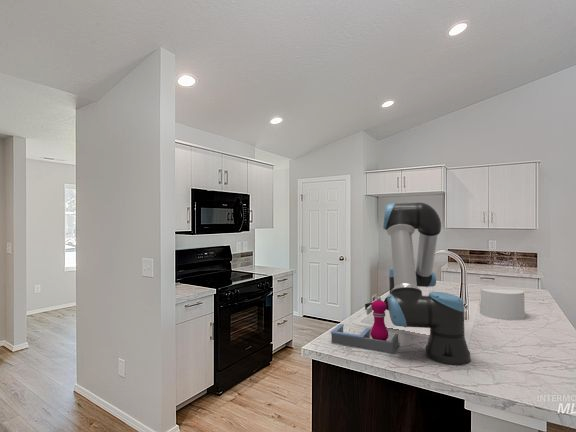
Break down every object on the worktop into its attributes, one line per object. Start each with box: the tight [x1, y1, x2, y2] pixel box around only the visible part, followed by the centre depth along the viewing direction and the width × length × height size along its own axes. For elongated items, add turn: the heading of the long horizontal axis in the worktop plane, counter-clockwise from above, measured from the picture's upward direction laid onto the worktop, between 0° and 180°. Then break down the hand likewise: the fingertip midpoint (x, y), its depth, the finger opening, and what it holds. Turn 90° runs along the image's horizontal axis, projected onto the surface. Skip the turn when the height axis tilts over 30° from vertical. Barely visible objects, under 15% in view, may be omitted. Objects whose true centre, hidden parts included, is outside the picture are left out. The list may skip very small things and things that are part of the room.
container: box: [479, 288, 526, 321], centre depth 177 cm, size 20×20×13 cm
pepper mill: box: [370, 295, 390, 341], centre depth 138 cm, size 7×7×20 cm
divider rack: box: [330, 323, 400, 354], centre depth 140 cm, size 26×12×5 cm, turn 61°
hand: (383, 313), depth 145 cm, fingers open, 13 cm apart
